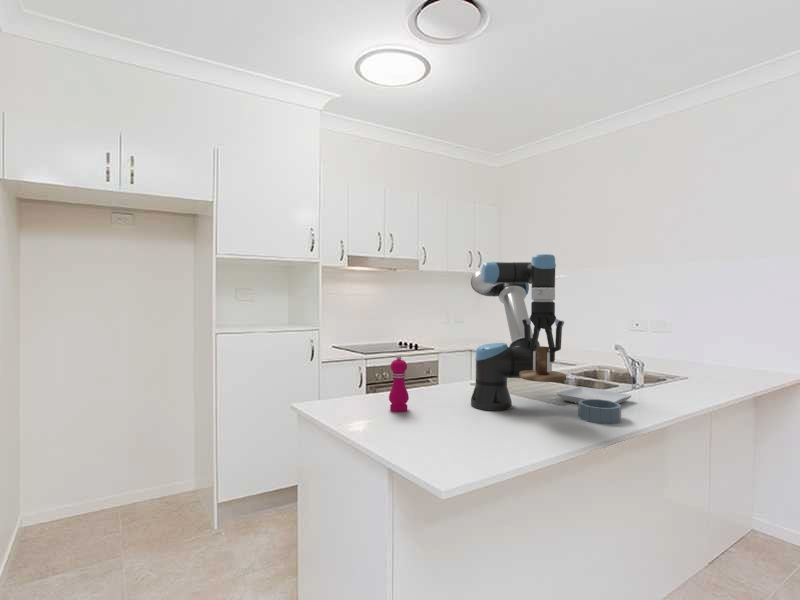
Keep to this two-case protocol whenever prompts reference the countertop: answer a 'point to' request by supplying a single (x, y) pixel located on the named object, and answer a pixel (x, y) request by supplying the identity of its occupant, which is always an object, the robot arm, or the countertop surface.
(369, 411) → the countertop surface
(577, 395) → the salad plate
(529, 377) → the lid
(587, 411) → the bowl
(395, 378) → the pepper mill
